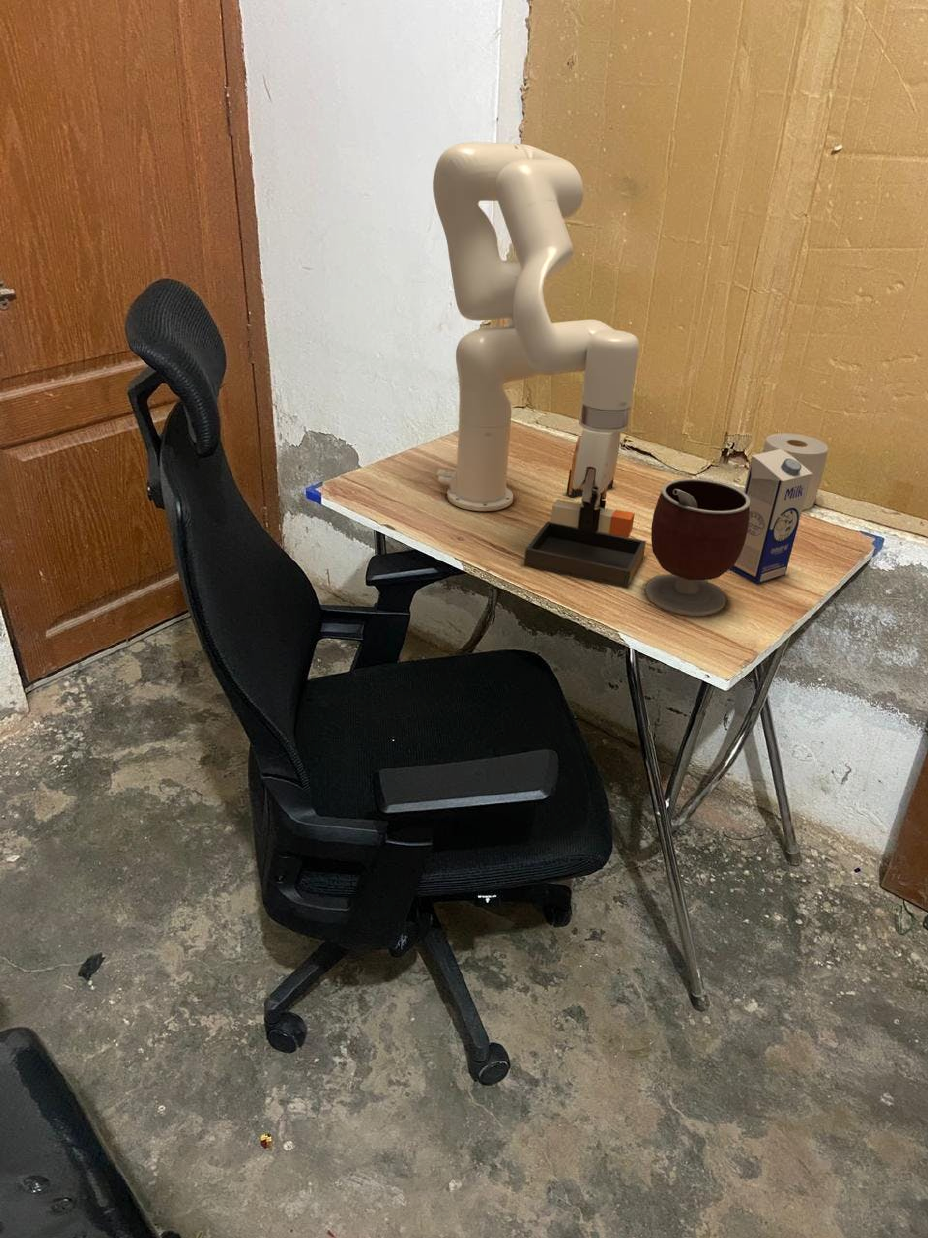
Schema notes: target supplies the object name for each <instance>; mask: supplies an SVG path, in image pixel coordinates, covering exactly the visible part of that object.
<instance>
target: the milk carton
mask: <svg viewBox="0 0 928 1238" xmlns="http://www.w3.org/2000/svg"><path fill="white" fill-rule="evenodd" d="M812 474H813V473H812V472H810V471H809V470H808V469H807V468H806V467H804V466H803V465H802V464H801V463H800V462H798V461H797V460H796V459H795V458H794V457H792V456H791V455H790V454H788V453H786V452H785V451H783V450H782V449H778V450H774V451H769V452H765V453H762V452H760V453H756V454H751V459H750V463H749V468H748V472H747V476H746V480H745V485H744V490H743V492H744V493H745V494H747V496H748V497H749V498H750V505H749V506H750V514H749V527H748V531H747V536H746V540H745V544H744V546H743V549H742V551H741V553H740V556H739V557H738V559H737V561H736V563H735V564H734V566H733V567H732V568H730V569H729V570H730V571H731V572H734V573H736V574H738V575H739V576H741V577H743V578H744V579H746V580H748V581H750V582H752V583H754V584H756V585H759V584H762V583H766V582H769V581H772V580H776V579H778V578H781V577H784V576H786V573H787V568H788V565H789V562H790V558H791V554H792V549H793V546H794V542H795V539H796V537H797V536H796V535H797V531H798V528H799V524H800V521H801V516H802V513H803V511H804V510H803V506H804V502H805V498H806V495H807V491H808V487H809V484H810V480H811V476H812Z"/></svg>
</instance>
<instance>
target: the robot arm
mask: <svg viewBox="0 0 928 1238" xmlns="http://www.w3.org/2000/svg"><path fill="white" fill-rule="evenodd" d="M432 179H433V182H432V188H433V189H432V190H433V199H434V203H435V207H436V211H437V215H438V218H439V220H440V223H441V225H442V229H443V232H444V235H445V240H446V244H447V251H448V257H449V259H448V260H449V265H450V271H451V278H452V279H451V280H452V286H453V291H454V296H455V303H456V306H457V309H458V312H459V313H460V315H461V316H462V317H463V318H464V319H466V320H470V321H477V322H478V321H491V320H502V319H507V324H508V325H505V326H504V325H503V326H494V327H485V328H478V329H475V330H472V331H470V332H468V333H466V334H465V335H463V337H461V339H460V340H459V342H458V343H457V346H456V350H455V362H456V370H457V371H456V372H457V376H458V388H459V402H458V403H459V405H458V407H459V408H458V411H459V412H458V433H457V454H456V470H453V471H450V470H446V469H441V468H439V469H438V470H437V472H436V479H437V483H438V484H441V485H448V486H449V488H448V489H447V493H446V497H447V498H446V499H447V500H448V501H449V502H450V503H451V504H452V505H453V506H456V507H458V508H461V509H464V510H468V511H475V512H495V511H499V510H504V509H506V508H507V507H509V506H511V504H512V503H513V502H514V494H513V492H512V490H510V488H508V487H507V476H508V465H509V452H510V441H511V440H510V438H511V425H512V405H511V401H510V399H509V397H508V395H507V394H506V391H505V389H504V384H508V383H512V382H519V381H525V380H526V381H527V380H531V379H535V378H537V377H540V376H548V377H549V376H555V375H556V376H558V375H564V374H570V373H580V372H584V373H583V383H582V391H581V399H580V408H579V409H580V410H579V417H578V418H579V419H578V424H579V426H580V427H581V428H582V431H581V434H580V437H581V438H580V443H579V448H578V454H577V460H576V466H575V473H574V479H573V489H574V490H577V489H579V488H580V487H581V486H582V484H583V483H584V485H583V492H582V496H581V502H580V504H581V506H580V513H579V522H578V529H580V530H584V531H589V532H597V531H598V525H599V517H600V510H601V509H599V507H601V508H606V506H607V505H606V504H607V500H606V499H607V496H608V495H607V494H608V490H607V487H608V485H609V483H610V482H611V480H612V479H613V477H614V478H615V475H616V471H617V464H618V460H619V459H618V457H619V450H620V442H621V434H622V432H624V431H626V430H628V428H629V423H630V417H631V408H632V400H633V392H634V387H635V379H636V372H637V365H638V359H639V350H640V341H639V339H638V337H637V336H636V335H635V334H633V333H632V332H628V331H624V330H618V329H615V328H612V327H611V326H610V325H609V324H607V323H605V322H603V321H601V320H598V319H582V320H580V319H579V320H569V321H559V322H552V321H551V318H550V315H549V313H548V309H547V306H546V302H545V301H546V300H545V294H544V287H545V282H546V280H548V279H549V278H551V277H553V276H554V275H555V274H556V273H558V272H560V271H561V270H562V269H563V268H565V267H566V266H567V265H568V264H569V262H571V260H572V259H573V256H574V245H573V242H572V240H571V237H570V234H569V231H568V228H567V226H566V222H565V220H564V219H568V218H571V217H572V216H574V215H575V214H576V213H577V212H578V211H579V209H580V207H581V205H582V202H583V198H584V184H583V180H582V177H581V175H580V173H579V171H578V170H577V168H576V166H575V165H574V164H573V163H571V162H570V161H569V160H567V159H565V158H563V157H560V156H557V155H555V154H552V153H550V152H547V151H545V150H542V149H540V148H537V147H535V146H532V145H528V144H524V143H507V142H506V143H503V142H502V143H501V142H486V141H485V142H484V141H483V142H481V141H480V142H479V141H477V142H473V141H471V142H462V143H457V144H454V145H452V146H450V147H448V148H446V149H445V150H444V151H443V152H442V153H441V155H440V157H439V158H438V160H437V162H436V164H435V168H434V172H433V178H432ZM480 202H497V203H498V206H499V209H500V211H501V215H502V217H503V221H504V223H505V227H506V229H507V232H508V234H509V238H510V240H511V243H512V247H513V249H514V252H515V256H516V258H517V259H510V260H502V259H501V256H500V252H499V245H498V238H497V233H496V229H495V228H494V226H493V224H492V222H491V220H490V218H489V216H488V215H487V213H486V212H485V211H484V210H483V209H482V208H481V207H480V205H479V203H480ZM613 480H614V479H613Z"/></svg>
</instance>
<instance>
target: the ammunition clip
mask: <svg viewBox="0 0 928 1238" xmlns="http://www.w3.org/2000/svg"><path fill="white" fill-rule="evenodd" d="M580 438H581V435H579V436H578V438H577V440H576V444H575V447H574V454H573V457H572V461H571V462H572V463H571V469H570V470H569V473H568V480H567V487H566V495H567V496H568V497H570V498H572V499H574V498H579V497H582V492H583V485H584V483H583V484H582V486H581V487H580V488H579V489H577V490H574V489H573V479H574V473H575V466H576V460H577V454H578V448H579V443H580ZM614 478H615V476H614V477H613V479H612V480H611V482H610V483H609V485H608V487H607V491H608V490H611V489H613V487H614Z"/></svg>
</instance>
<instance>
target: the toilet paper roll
mask: <svg viewBox="0 0 928 1238" xmlns="http://www.w3.org/2000/svg"><path fill="white" fill-rule="evenodd" d="M778 449H782V450H783V451H785V452H786V453H788V454H790V455H791V456H792V457H794V458H795V459H796V460H797V461H798V462H800V463H801V464H802V465H803V466H804V467H806V468H807V469H808V470H809V471H810V472H812V473H813V474H812V476H811V480H810V484H809V487H808V491H807V495H806V498H805V502H804V506H803V510H802V511H805V510H809V509H810V508H812V507H813V506H814V503H815V500H816V497H817V495H818V491H819V488H820V485H821V482H822V478H823V474H824V469H825V466H826V462H827V457H828V453H829V446H828V445H827V444H826V442H824V441H822V440H819V439H817V438H814V437H811V436H807V435H802V434H797V433H795V434H794V433H785V432H784V433H773V434H770V435H768V436H767V437H766V438H765V441H764V445H763V448H762V451H761V453H765V452H769V451H774V450H778Z"/></svg>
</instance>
